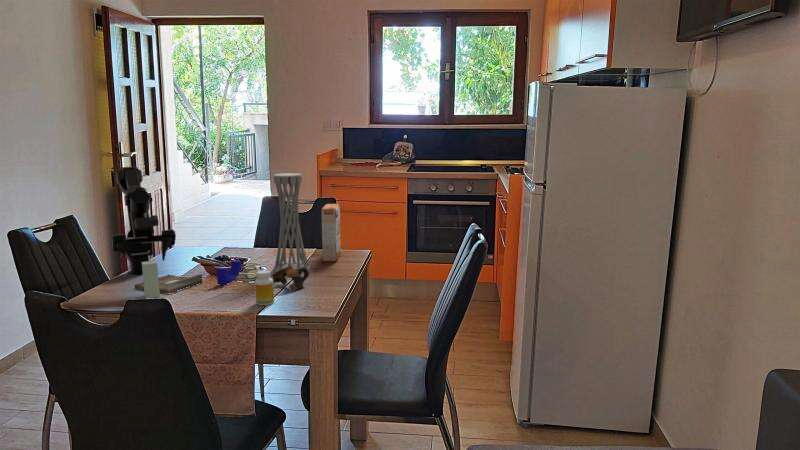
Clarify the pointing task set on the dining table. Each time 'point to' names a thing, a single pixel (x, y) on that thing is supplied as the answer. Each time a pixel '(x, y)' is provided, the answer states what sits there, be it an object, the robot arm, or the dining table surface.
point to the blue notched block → (228, 273)
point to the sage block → (150, 279)
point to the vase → (289, 222)
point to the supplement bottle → (264, 288)
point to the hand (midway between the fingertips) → (148, 261)
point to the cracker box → (331, 232)
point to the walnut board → (174, 283)
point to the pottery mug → (293, 274)
